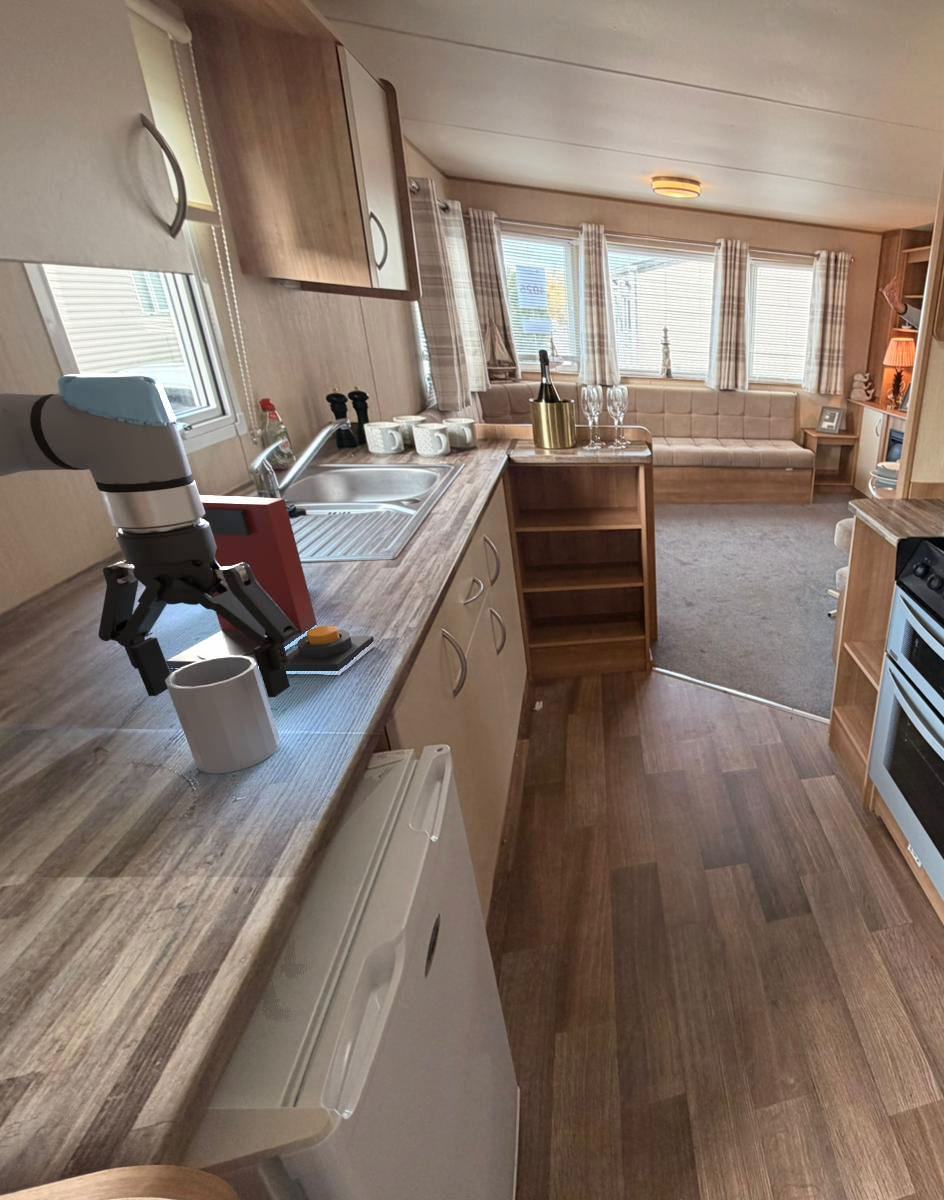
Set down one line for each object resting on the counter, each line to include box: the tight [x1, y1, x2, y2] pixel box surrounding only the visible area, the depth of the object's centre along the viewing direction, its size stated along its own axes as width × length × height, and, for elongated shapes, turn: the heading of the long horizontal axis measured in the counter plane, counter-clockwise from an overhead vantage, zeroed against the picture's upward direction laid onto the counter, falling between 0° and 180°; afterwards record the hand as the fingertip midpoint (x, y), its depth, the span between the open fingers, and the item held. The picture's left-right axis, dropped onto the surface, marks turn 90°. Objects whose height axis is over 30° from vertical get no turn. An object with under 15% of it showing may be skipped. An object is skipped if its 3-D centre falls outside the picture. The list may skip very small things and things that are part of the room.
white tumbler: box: [165, 655, 281, 775], centre depth 79 cm, size 8×8×12 cm
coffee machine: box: [165, 494, 318, 668], centre depth 101 cm, size 15×13×24 cm
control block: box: [285, 629, 375, 671], centre depth 103 cm, size 10×9×4 cm
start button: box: [307, 625, 340, 645], centre depth 102 cm, size 4×4×2 cm
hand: (221, 691), depth 78 cm, fingers open, 13 cm apart
